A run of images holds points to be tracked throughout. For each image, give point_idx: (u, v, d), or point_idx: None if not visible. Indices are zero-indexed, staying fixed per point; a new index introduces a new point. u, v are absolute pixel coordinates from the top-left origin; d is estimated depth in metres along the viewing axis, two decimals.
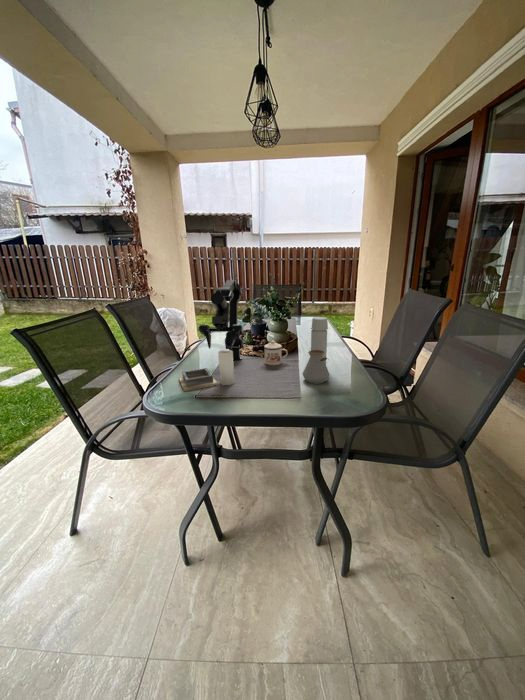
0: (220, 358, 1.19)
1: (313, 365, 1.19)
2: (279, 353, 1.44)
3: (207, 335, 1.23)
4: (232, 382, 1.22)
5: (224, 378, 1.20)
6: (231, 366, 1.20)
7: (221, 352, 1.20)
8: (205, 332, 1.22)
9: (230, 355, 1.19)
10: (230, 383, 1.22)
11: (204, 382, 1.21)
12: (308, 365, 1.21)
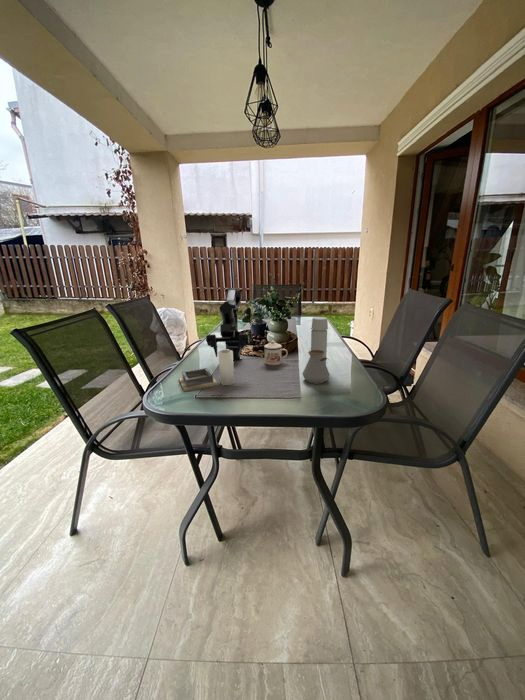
0: (220, 358, 1.19)
1: (313, 365, 1.19)
2: (279, 353, 1.44)
3: (214, 344, 1.26)
4: (232, 382, 1.22)
5: (224, 378, 1.20)
6: (231, 366, 1.20)
7: (221, 352, 1.20)
8: (212, 341, 1.26)
9: (230, 355, 1.19)
10: (230, 383, 1.22)
11: (204, 382, 1.21)
12: (308, 365, 1.21)
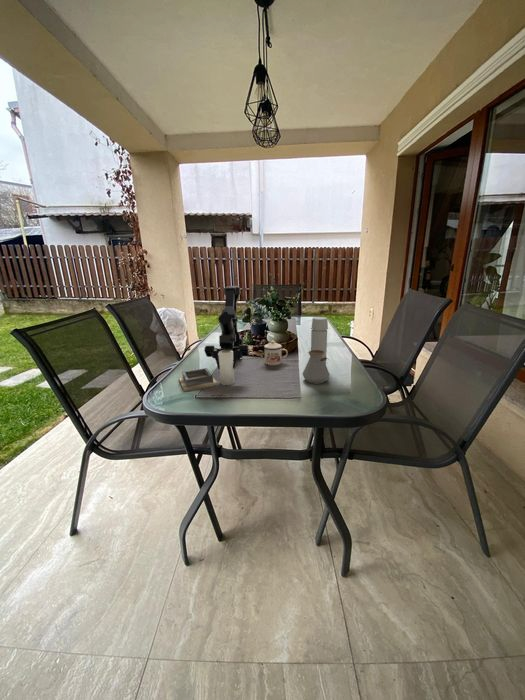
0: (220, 358, 1.19)
1: (313, 365, 1.19)
2: (279, 353, 1.44)
3: (216, 355, 1.22)
4: (232, 382, 1.22)
5: (224, 378, 1.20)
6: (231, 366, 1.20)
7: (221, 352, 1.19)
8: (214, 352, 1.22)
9: (230, 355, 1.19)
10: (230, 383, 1.22)
11: (204, 382, 1.21)
12: (308, 365, 1.21)
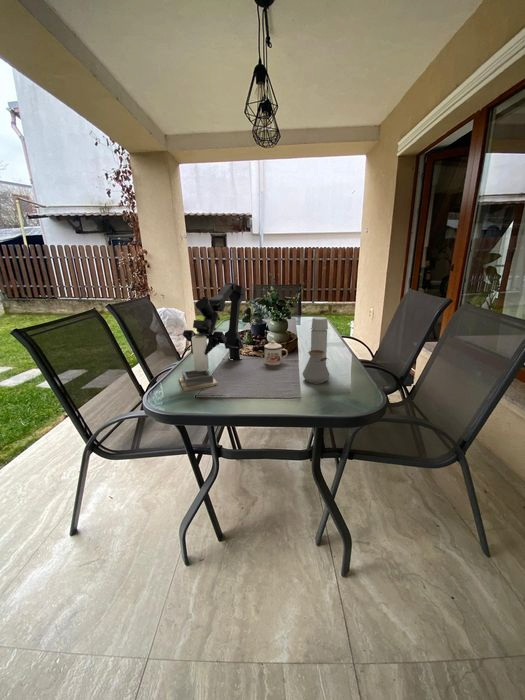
0: (192, 343, 1.18)
1: (313, 365, 1.19)
2: (279, 353, 1.44)
3: None
4: (204, 368, 1.21)
5: (196, 363, 1.20)
6: (202, 352, 1.19)
7: (194, 337, 1.19)
8: (190, 337, 1.22)
9: (201, 340, 1.17)
10: (201, 369, 1.20)
11: (204, 382, 1.21)
12: (308, 365, 1.21)
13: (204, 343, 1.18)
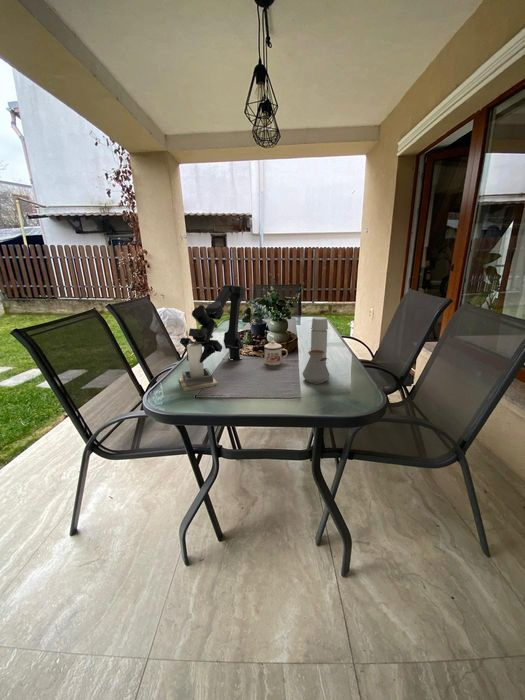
0: None
1: (313, 365, 1.19)
2: (279, 353, 1.44)
3: None
4: (199, 376, 1.22)
5: (191, 371, 1.22)
6: (197, 360, 1.20)
7: (190, 345, 1.21)
8: None
9: (196, 349, 1.19)
10: (196, 377, 1.22)
11: (204, 382, 1.21)
12: (308, 365, 1.21)
13: (199, 351, 1.20)
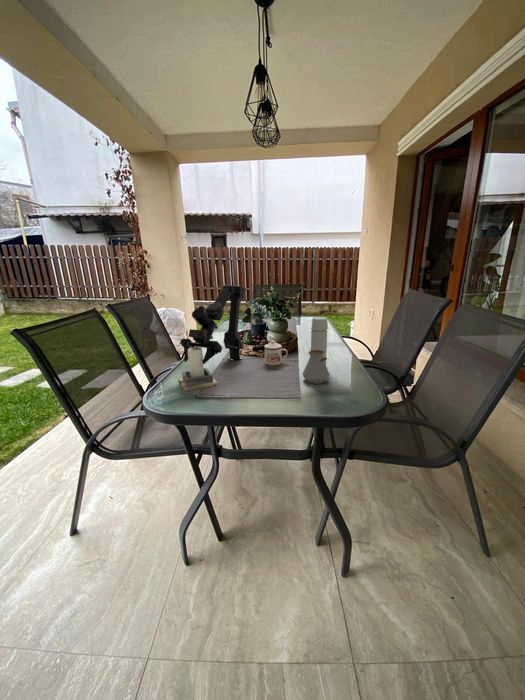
0: (188, 355, 1.21)
1: (313, 365, 1.19)
2: (279, 353, 1.44)
3: (186, 348, 1.25)
4: None
5: (191, 375, 1.22)
6: (198, 364, 1.21)
7: (190, 349, 1.21)
8: (184, 345, 1.25)
9: (196, 353, 1.19)
10: None
11: (204, 382, 1.21)
12: (308, 365, 1.21)
13: (199, 355, 1.20)
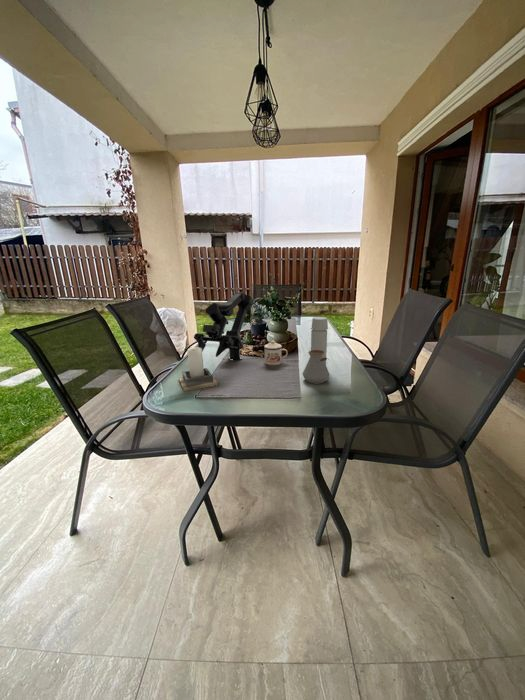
0: (188, 355, 1.21)
1: (313, 365, 1.19)
2: (279, 353, 1.44)
3: (199, 342, 1.33)
4: None
5: (191, 375, 1.22)
6: (198, 364, 1.21)
7: (190, 349, 1.21)
8: (198, 339, 1.33)
9: (196, 353, 1.19)
10: None
11: (204, 382, 1.21)
12: (308, 365, 1.21)
13: (199, 355, 1.20)
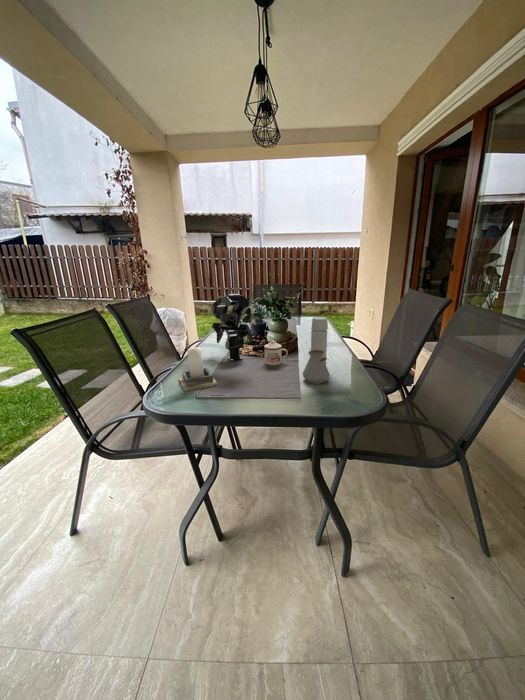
0: (188, 355, 1.21)
1: (313, 365, 1.19)
2: (279, 353, 1.44)
3: (218, 331, 1.38)
4: None
5: (191, 375, 1.22)
6: (198, 364, 1.21)
7: (190, 349, 1.21)
8: (216, 328, 1.38)
9: (196, 353, 1.19)
10: None
11: (204, 382, 1.21)
12: (308, 365, 1.21)
13: (199, 355, 1.20)
